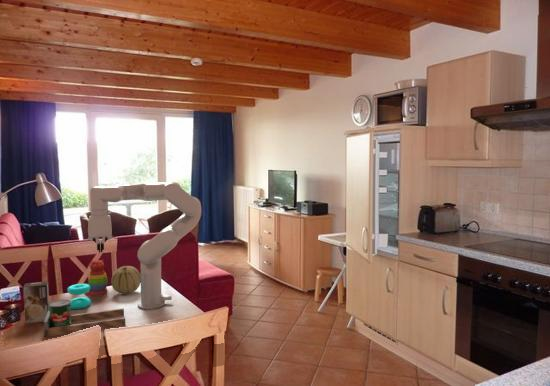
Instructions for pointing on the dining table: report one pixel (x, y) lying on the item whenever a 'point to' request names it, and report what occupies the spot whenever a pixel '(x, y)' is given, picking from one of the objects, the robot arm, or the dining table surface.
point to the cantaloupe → (126, 280)
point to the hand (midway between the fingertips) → (100, 251)
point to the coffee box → (36, 301)
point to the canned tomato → (60, 313)
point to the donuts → (80, 301)
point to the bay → (86, 317)
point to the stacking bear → (97, 279)
